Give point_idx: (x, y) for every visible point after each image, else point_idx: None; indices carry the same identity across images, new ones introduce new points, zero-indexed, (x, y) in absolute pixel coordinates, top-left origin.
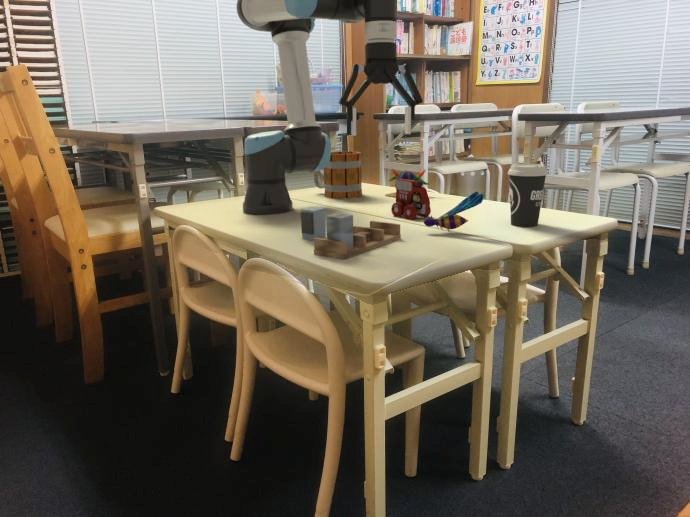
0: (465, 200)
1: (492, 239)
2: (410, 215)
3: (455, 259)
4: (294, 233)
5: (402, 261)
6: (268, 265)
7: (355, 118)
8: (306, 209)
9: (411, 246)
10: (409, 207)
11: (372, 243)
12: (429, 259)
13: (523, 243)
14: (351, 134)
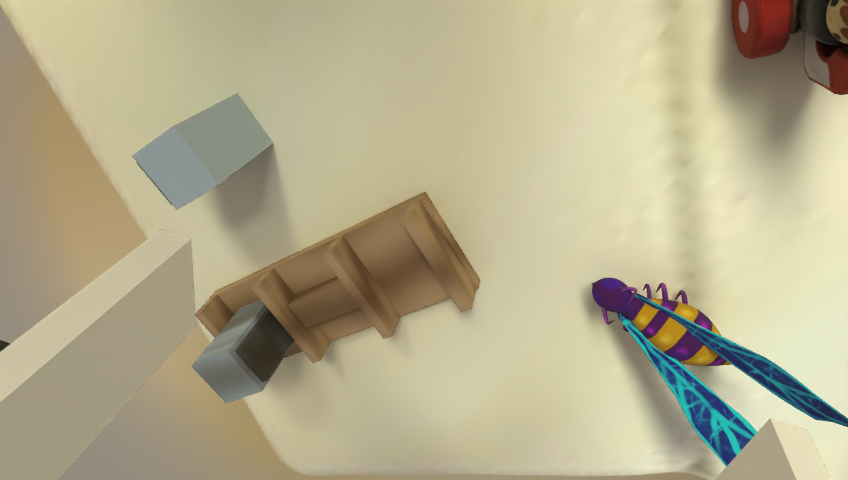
0: (790, 382)
1: None
2: (738, 31)
3: (482, 464)
4: (176, 31)
5: (378, 421)
6: None
7: (62, 462)
8: (151, 170)
9: (458, 355)
10: (753, 29)
11: (357, 326)
12: (435, 439)
13: None
14: (156, 237)
